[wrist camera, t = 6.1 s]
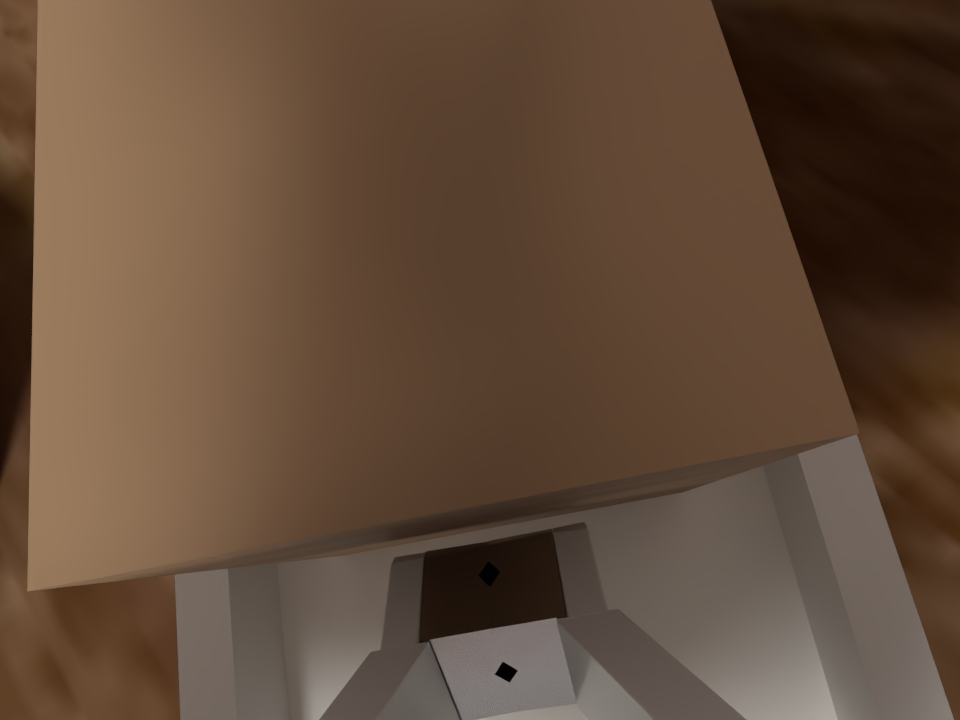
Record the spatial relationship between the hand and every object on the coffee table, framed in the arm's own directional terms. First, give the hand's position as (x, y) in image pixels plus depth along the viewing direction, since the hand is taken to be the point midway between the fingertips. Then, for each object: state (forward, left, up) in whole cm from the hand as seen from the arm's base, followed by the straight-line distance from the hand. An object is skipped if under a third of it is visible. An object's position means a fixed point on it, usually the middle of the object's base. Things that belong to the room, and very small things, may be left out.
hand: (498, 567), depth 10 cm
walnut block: (0, -4, -3) cm, 5 cm away
